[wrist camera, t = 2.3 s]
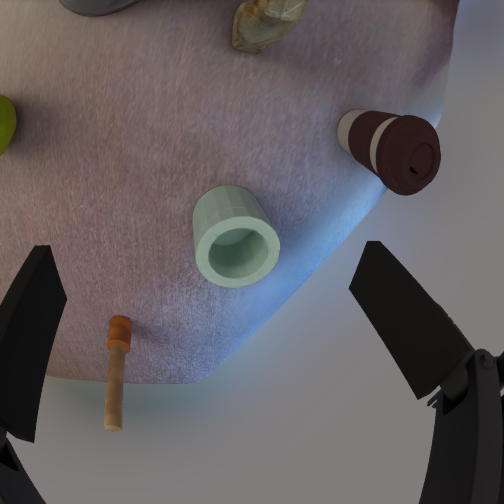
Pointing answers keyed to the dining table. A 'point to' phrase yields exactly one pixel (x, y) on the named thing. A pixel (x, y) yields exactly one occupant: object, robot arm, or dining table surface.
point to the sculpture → (264, 23)
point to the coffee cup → (392, 148)
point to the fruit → (6, 122)
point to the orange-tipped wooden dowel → (116, 370)
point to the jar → (233, 237)
